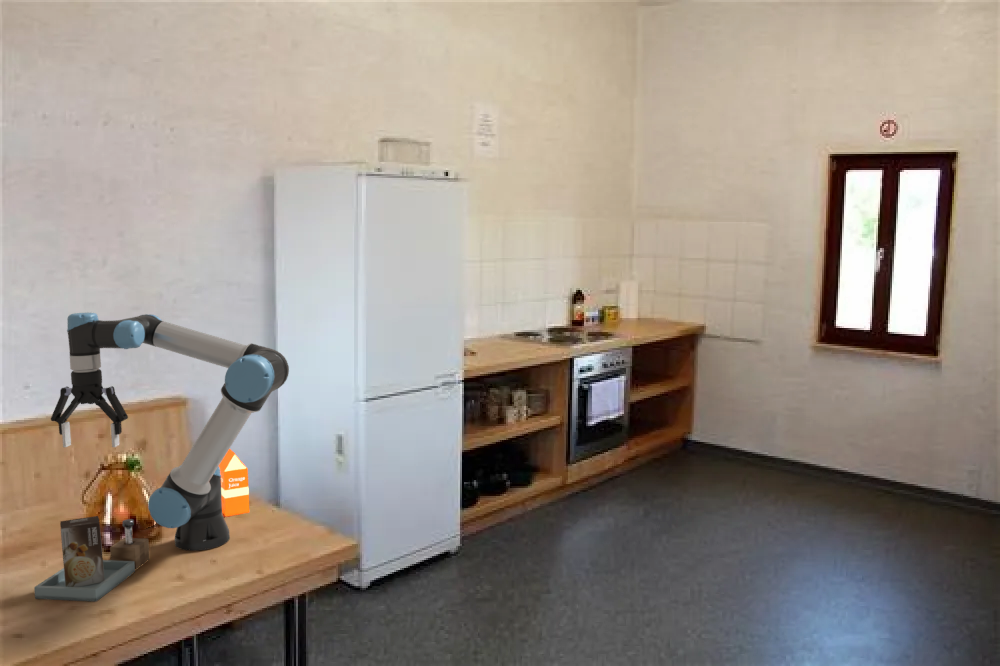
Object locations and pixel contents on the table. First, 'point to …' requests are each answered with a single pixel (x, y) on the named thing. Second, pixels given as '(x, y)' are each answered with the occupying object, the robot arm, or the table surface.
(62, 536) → the coffee box
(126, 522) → the peg
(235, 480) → the orange juice
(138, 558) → the walnut block
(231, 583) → the table surface
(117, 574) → the tray
